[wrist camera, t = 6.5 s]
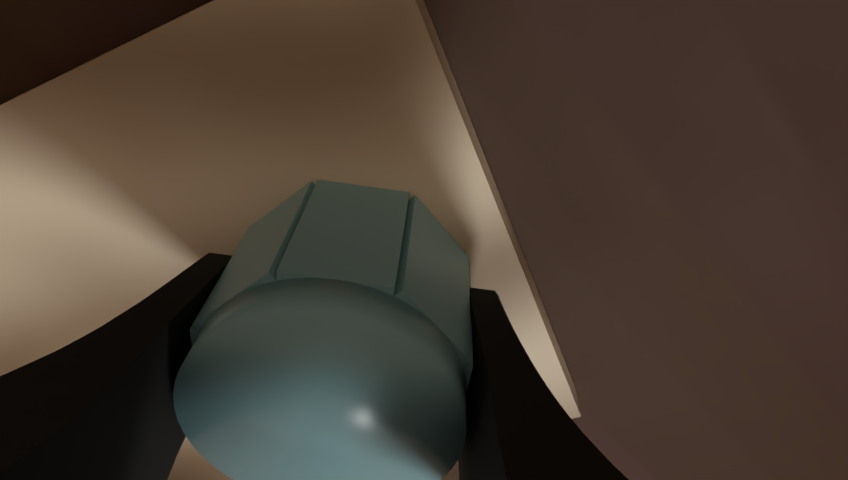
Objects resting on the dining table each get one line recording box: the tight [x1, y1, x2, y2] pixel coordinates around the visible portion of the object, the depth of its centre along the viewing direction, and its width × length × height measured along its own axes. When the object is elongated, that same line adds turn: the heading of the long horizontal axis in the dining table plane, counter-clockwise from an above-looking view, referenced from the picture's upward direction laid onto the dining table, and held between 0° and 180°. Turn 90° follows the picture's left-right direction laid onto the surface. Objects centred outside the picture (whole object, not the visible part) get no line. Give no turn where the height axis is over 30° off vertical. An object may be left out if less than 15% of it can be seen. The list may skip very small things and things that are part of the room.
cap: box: [173, 180, 473, 480], centre depth 12 cm, size 6×6×4 cm
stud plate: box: [0, 0, 581, 480], centre depth 15 cm, size 14×18×4 cm
